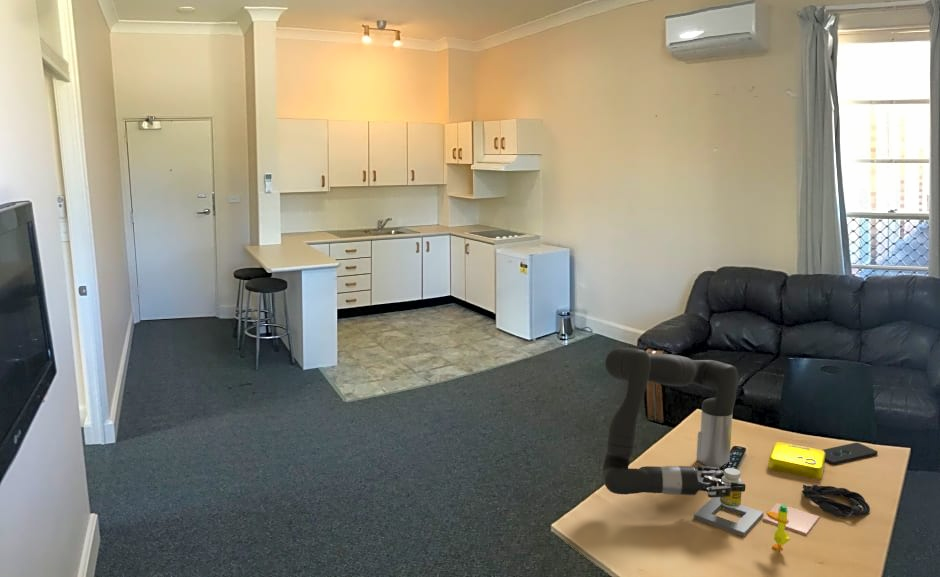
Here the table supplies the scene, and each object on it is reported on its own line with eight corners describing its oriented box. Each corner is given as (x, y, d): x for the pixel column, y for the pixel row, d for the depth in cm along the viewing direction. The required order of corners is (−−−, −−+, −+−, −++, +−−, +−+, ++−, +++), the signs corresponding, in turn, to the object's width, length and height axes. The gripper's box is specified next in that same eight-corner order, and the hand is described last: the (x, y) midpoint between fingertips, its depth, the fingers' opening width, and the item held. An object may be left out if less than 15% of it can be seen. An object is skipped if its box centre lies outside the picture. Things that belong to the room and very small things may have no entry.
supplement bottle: (727, 496, 186) (729, 464, 184) (744, 504, 182) (747, 472, 180) (715, 502, 183) (717, 470, 181) (732, 510, 179) (734, 477, 177)
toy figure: (760, 544, 170) (763, 501, 168) (767, 539, 172) (771, 496, 170) (786, 556, 165) (790, 512, 162) (793, 551, 167) (797, 507, 164)
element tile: (825, 462, 215) (826, 448, 214) (821, 482, 202) (822, 467, 201) (774, 452, 223) (775, 439, 222) (767, 470, 210) (768, 456, 209)
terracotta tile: (762, 520, 181) (762, 518, 181) (777, 504, 189) (777, 502, 189) (806, 535, 174) (806, 533, 174) (819, 518, 182) (819, 516, 181)
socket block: (693, 518, 183) (694, 514, 182) (714, 499, 192) (714, 495, 192) (743, 536, 173) (744, 532, 173) (763, 516, 183) (763, 512, 183)
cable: (790, 497, 193) (791, 483, 192) (819, 485, 200) (820, 471, 199) (848, 525, 179) (850, 510, 178) (878, 510, 186) (879, 496, 185)
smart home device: (811, 451, 219) (856, 441, 226) (811, 456, 220) (856, 446, 226) (833, 461, 212) (879, 451, 219) (832, 466, 212) (878, 456, 219)
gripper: (684, 480, 174) (751, 482, 173) (672, 455, 188) (734, 456, 187) (682, 506, 176) (749, 508, 175) (671, 480, 190) (732, 481, 189)
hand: (741, 481), depth 181 cm, fingers closed on supplement bottle, 5 cm apart
